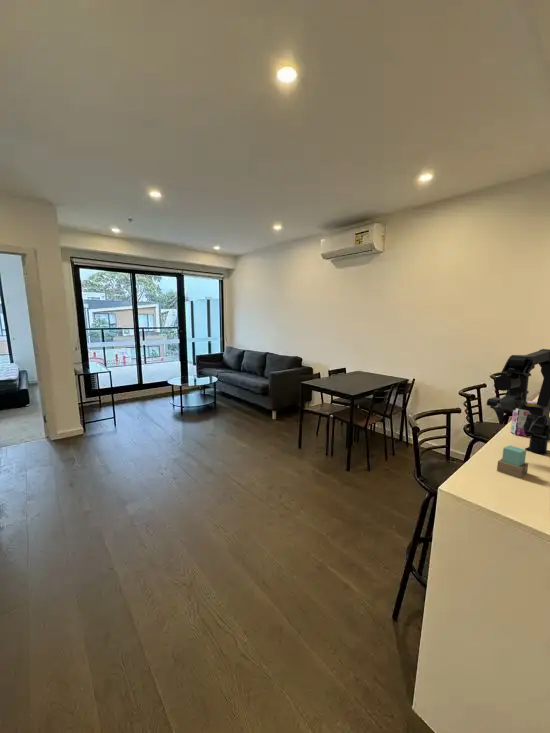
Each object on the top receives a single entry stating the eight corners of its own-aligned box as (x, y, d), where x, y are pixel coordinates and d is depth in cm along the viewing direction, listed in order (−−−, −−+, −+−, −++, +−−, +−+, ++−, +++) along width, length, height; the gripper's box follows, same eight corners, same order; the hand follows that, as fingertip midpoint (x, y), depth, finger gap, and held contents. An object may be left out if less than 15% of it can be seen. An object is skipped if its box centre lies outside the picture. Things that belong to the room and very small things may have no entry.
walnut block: (504, 466, 119) (505, 456, 118) (527, 474, 113) (528, 463, 112) (496, 471, 114) (497, 461, 114) (520, 479, 109) (521, 468, 108)
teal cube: (508, 458, 116) (509, 445, 116) (524, 463, 112) (526, 449, 112) (502, 461, 114) (503, 447, 113) (518, 466, 110) (520, 452, 109)
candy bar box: (515, 435, 153) (519, 402, 151) (510, 432, 158) (513, 399, 156) (542, 437, 151) (546, 403, 148) (535, 434, 155) (539, 401, 153)
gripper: (480, 386, 126) (477, 424, 128) (538, 395, 110) (533, 438, 112) (495, 383, 131) (492, 420, 133) (551, 391, 115) (547, 433, 117)
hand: (514, 427), depth 124 cm, fingers open, 9 cm apart
